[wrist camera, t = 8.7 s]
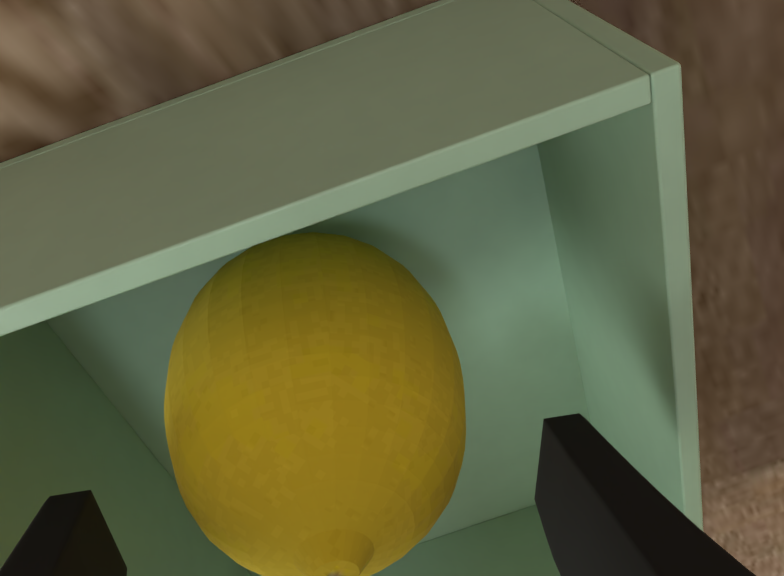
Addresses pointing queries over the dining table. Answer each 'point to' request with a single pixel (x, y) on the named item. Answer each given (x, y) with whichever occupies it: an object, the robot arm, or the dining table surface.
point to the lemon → (315, 408)
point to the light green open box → (390, 235)
